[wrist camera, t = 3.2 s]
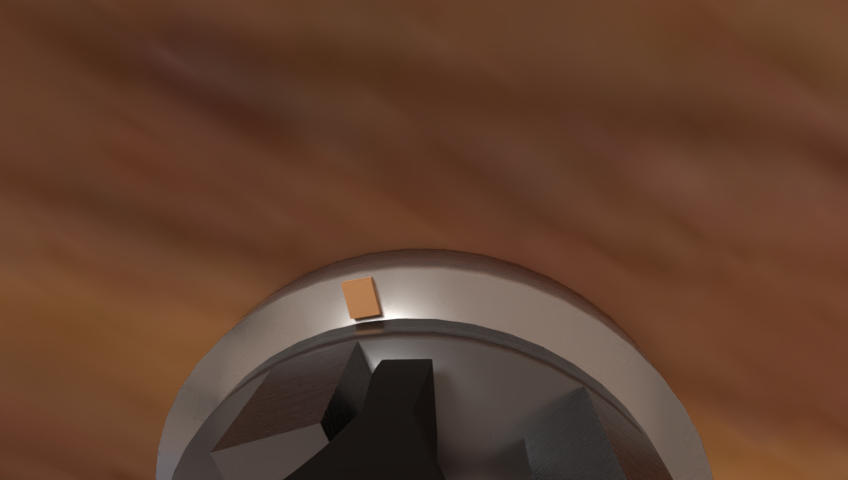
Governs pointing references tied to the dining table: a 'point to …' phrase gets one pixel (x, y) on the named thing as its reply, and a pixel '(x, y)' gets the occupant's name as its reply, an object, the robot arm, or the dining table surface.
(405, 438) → the robot arm
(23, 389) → the dining table surface
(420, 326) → the finned metal hub
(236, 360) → the cap base
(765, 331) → the dining table surface
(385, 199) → the dining table surface
